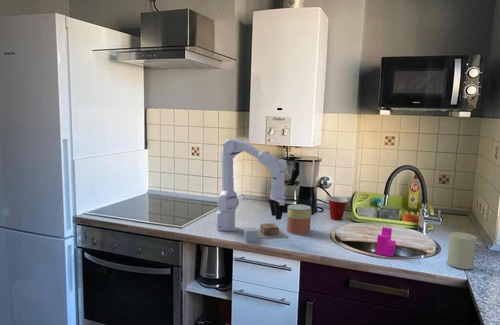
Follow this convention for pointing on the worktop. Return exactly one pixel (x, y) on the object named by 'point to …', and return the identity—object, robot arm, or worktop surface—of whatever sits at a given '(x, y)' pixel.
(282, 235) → the light gray board
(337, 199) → the plastic cup
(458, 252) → the can
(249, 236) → the grey cube
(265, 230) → the walnut slab
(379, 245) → the toy block
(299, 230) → the canned food
